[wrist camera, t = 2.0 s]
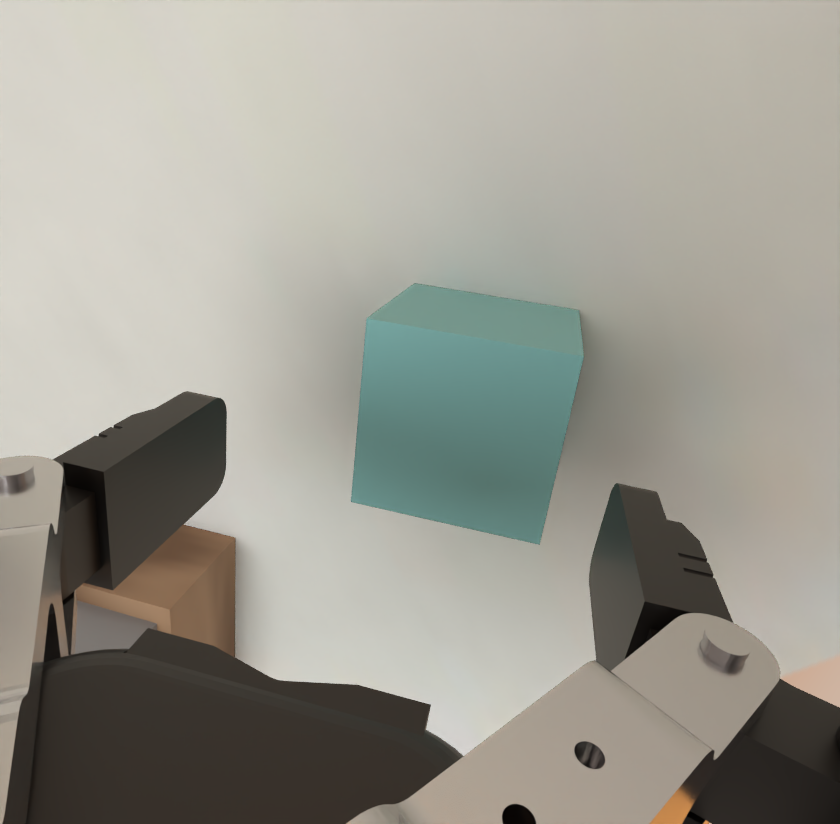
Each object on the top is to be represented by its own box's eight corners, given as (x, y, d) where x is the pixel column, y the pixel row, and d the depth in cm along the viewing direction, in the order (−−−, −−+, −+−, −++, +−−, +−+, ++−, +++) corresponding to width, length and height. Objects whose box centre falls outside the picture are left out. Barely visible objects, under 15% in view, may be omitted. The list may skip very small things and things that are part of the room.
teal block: (578, 309, 18) (583, 356, 13) (545, 458, 20) (539, 544, 15) (415, 282, 19) (366, 318, 14) (398, 429, 20) (350, 501, 16)
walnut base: (237, 535, 24) (169, 609, 20) (236, 666, 27) (177, 755, 23) (82, 496, 25) (-12, 559, 21) (97, 626, 28) (16, 704, 24)
